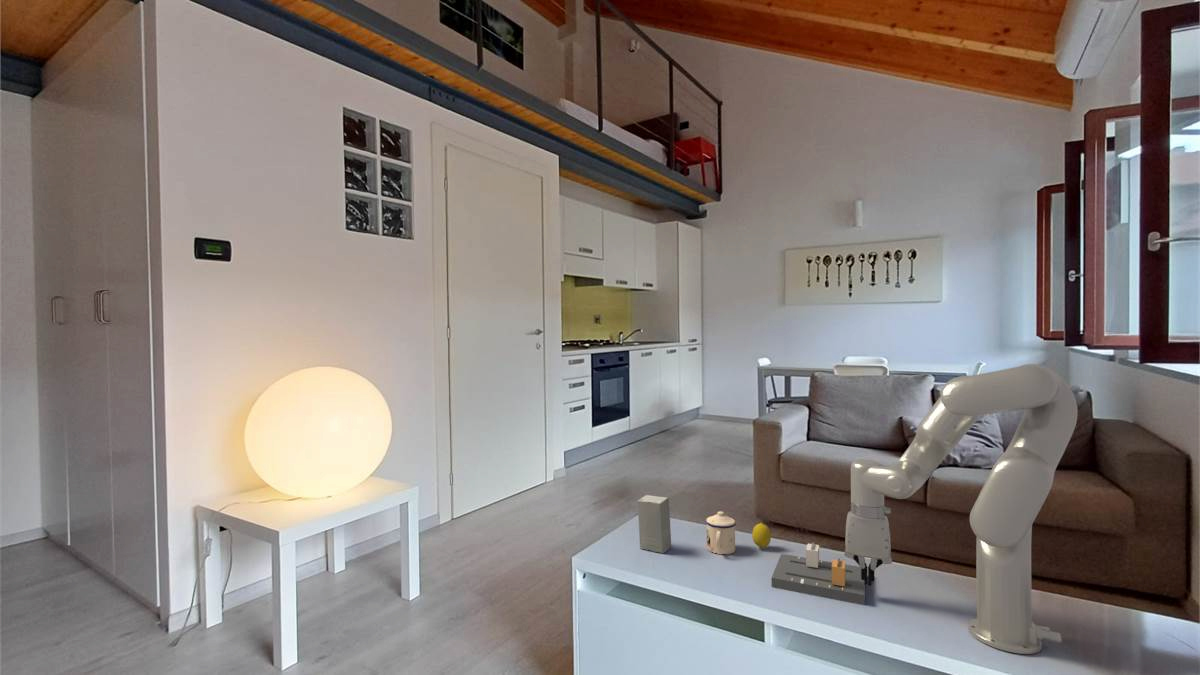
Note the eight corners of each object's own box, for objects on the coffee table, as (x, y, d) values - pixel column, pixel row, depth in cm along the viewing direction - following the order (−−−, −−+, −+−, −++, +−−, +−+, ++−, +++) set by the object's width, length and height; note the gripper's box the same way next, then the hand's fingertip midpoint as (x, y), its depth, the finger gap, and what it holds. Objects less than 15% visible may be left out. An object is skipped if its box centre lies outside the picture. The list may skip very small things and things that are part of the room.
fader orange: (845, 578, 138) (845, 559, 138) (844, 586, 134) (844, 566, 134) (833, 576, 140) (832, 557, 140) (831, 584, 135) (831, 564, 135)
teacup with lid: (708, 542, 171) (707, 506, 171) (737, 546, 168) (736, 509, 168) (702, 556, 160) (702, 517, 160) (733, 560, 157) (733, 521, 157)
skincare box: (671, 547, 167) (671, 497, 167) (661, 555, 161) (661, 502, 161) (647, 542, 172) (647, 493, 172) (637, 549, 166) (637, 498, 166)
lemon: (768, 545, 169) (768, 520, 169) (772, 552, 163) (772, 526, 163) (750, 544, 169) (750, 519, 169) (754, 551, 164) (754, 525, 164)
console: (865, 576, 146) (865, 567, 146) (864, 605, 130) (864, 594, 130) (781, 561, 156) (781, 553, 156) (771, 587, 140) (771, 577, 140)
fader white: (819, 561, 149) (819, 543, 150) (817, 567, 145) (817, 549, 145) (807, 559, 151) (807, 541, 151) (806, 565, 146) (806, 547, 146)
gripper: (900, 510, 134) (901, 583, 134) (835, 502, 141) (836, 572, 140) (902, 519, 127) (902, 596, 127) (834, 510, 134) (834, 583, 134)
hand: (867, 583), depth 134 cm, fingers closed
